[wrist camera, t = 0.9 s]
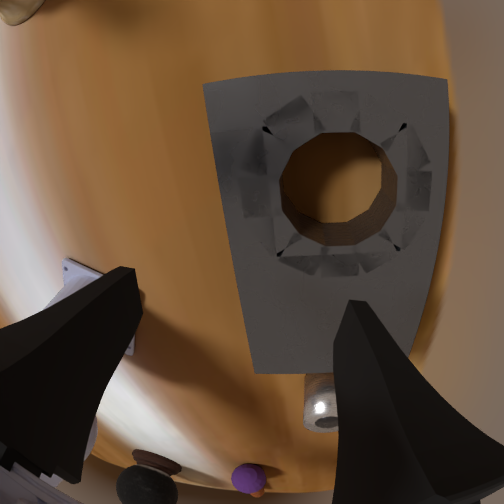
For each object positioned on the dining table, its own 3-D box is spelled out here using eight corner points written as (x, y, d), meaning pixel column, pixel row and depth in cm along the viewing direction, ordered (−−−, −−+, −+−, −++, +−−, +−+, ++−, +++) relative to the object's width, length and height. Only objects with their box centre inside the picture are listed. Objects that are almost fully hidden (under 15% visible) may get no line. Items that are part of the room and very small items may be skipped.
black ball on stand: (121, 441, 47) (99, 498, 34) (181, 459, 45) (162, 522, 33) (137, 460, 53) (120, 509, 40) (189, 475, 52) (175, 527, 39)
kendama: (240, 498, 48) (223, 485, 36) (248, 477, 52) (235, 456, 41) (265, 504, 46) (258, 494, 35) (273, 483, 50) (269, 465, 39)
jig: (397, 339, 22) (405, 365, 20) (259, 346, 24) (254, 373, 22) (423, 80, 12) (447, 79, 10) (217, 85, 15) (202, 84, 12)
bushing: (335, 393, 27) (336, 434, 23) (297, 384, 27) (294, 428, 22) (358, 370, 25) (363, 414, 20) (317, 359, 24) (318, 407, 20)
